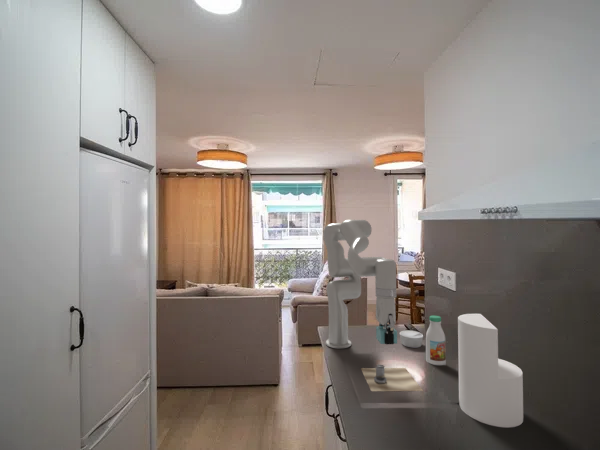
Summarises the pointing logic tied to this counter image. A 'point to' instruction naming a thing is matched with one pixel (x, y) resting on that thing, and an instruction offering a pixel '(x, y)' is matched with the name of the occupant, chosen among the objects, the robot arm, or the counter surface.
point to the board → (392, 380)
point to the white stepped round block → (487, 375)
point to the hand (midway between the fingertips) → (386, 340)
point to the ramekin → (411, 338)
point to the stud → (380, 375)
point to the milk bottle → (435, 342)
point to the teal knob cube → (381, 334)
